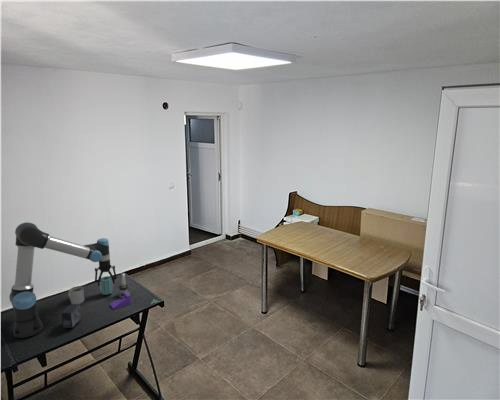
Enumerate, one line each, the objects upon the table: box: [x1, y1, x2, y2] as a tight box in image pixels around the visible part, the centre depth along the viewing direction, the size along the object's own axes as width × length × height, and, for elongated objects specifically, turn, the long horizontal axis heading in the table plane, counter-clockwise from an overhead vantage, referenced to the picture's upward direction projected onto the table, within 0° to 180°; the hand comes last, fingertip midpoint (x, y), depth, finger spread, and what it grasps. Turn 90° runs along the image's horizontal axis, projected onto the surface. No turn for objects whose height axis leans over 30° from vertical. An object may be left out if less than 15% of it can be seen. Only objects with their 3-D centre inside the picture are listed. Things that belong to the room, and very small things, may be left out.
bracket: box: [109, 293, 132, 310], centre depth 238 cm, size 12×7×7 cm, turn 128°
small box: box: [61, 303, 82, 329], centre depth 214 cm, size 11×6×10 cm, turn 178°
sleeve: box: [100, 275, 113, 295], centre depth 249 cm, size 7×7×11 cm
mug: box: [67, 285, 86, 305], centre depth 242 cm, size 11×10×10 cm
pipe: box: [119, 272, 128, 296], centre depth 249 cm, size 5×5×16 cm
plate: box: [118, 291, 131, 299], centre depth 251 cm, size 8×8×1 cm
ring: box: [118, 284, 129, 291], centre depth 250 cm, size 6×6×2 cm
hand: (106, 288), depth 250 cm, fingers closed on sleeve, 7 cm apart
